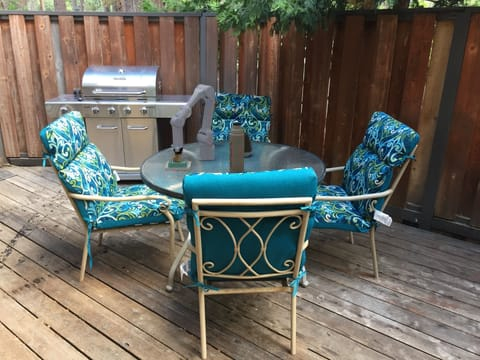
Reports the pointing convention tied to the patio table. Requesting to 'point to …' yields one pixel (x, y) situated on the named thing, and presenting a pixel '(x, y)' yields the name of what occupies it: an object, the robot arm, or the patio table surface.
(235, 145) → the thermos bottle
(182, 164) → the dock
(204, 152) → the robot arm
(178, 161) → the cardboard box
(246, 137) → the pump dispenser
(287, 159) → the patio table surface
